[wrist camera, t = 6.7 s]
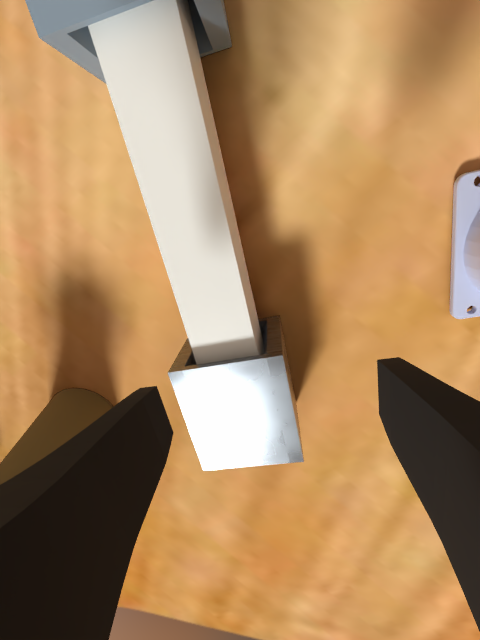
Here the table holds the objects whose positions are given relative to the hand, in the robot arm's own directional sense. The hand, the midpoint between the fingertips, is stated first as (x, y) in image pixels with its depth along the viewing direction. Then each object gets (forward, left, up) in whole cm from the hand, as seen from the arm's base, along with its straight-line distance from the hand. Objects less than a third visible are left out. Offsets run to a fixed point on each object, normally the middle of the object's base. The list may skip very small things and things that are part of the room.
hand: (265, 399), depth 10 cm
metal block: (+2, +5, -10) cm, 11 cm away
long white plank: (+2, -7, -10) cm, 12 cm away
